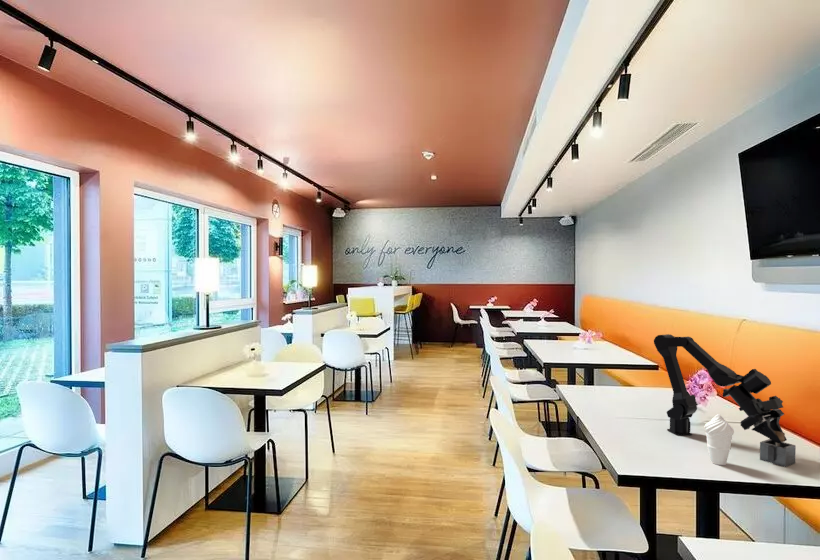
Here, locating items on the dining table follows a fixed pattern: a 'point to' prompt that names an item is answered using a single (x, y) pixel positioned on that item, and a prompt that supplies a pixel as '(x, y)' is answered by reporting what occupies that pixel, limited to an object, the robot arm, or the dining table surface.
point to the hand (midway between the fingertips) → (782, 441)
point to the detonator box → (777, 453)
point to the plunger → (780, 437)
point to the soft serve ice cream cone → (718, 439)
